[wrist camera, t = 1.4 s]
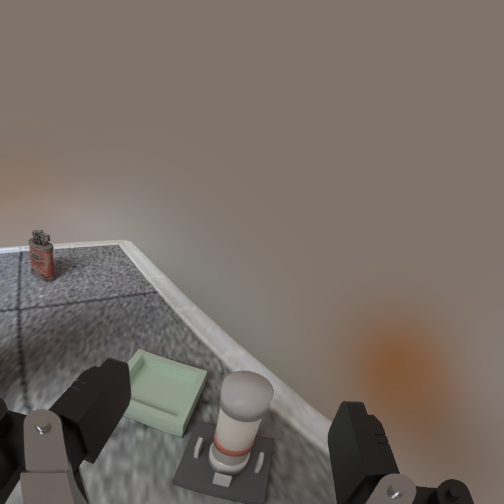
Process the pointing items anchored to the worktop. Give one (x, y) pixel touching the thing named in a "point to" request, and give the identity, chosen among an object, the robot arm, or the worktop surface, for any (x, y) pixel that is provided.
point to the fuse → (238, 420)
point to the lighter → (41, 256)
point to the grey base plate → (219, 485)
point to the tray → (163, 392)
